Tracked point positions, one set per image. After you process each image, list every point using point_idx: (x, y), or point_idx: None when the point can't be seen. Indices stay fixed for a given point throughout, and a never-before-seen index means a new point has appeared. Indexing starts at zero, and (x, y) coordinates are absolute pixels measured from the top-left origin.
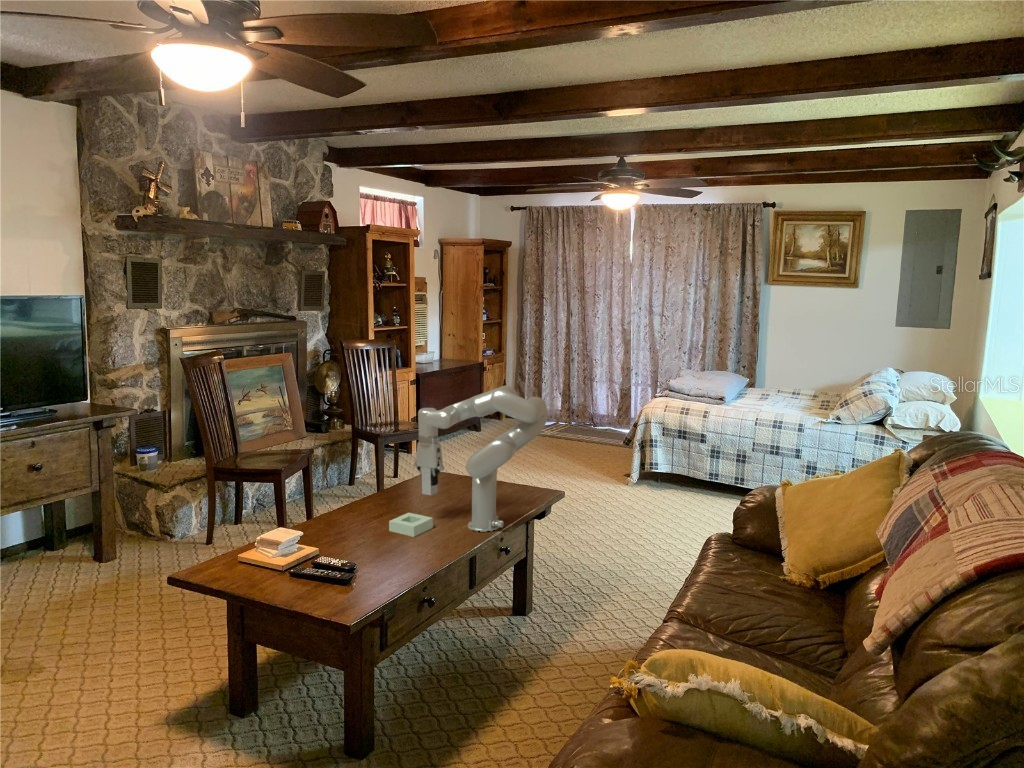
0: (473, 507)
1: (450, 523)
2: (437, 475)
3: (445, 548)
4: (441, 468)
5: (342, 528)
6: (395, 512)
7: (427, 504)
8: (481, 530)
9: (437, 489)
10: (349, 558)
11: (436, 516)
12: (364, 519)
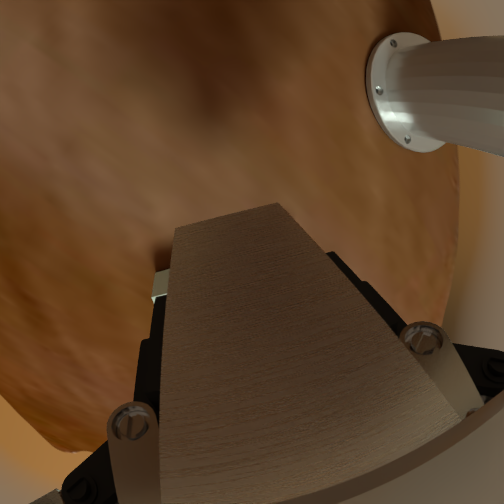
0: (470, 145)
1: (299, 139)
2: (411, 336)
3: (414, 306)
4: None
5: (95, 417)
6: (17, 239)
7: (14, 62)
8: (440, 144)
9: (286, 211)
10: None
11: (171, 119)
12: (44, 355)
